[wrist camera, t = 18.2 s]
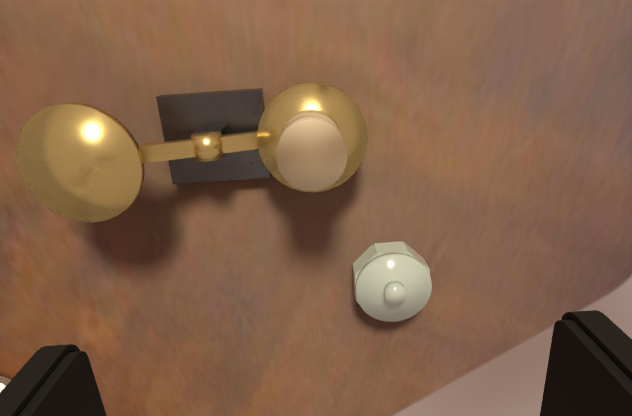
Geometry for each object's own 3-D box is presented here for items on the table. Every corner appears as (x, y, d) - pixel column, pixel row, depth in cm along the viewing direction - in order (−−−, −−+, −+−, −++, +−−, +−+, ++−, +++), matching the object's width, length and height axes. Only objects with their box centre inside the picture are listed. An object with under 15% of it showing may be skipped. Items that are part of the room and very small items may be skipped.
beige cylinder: (342, 167, 32) (348, 188, 27) (283, 171, 32) (279, 193, 27) (340, 107, 30) (345, 119, 26) (278, 111, 30) (272, 123, 26)
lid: (423, 302, 41) (433, 325, 38) (354, 307, 41) (358, 330, 38) (424, 239, 39) (436, 258, 35) (351, 245, 39) (355, 264, 35)
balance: (362, 173, 37) (374, 203, 30) (88, 191, 37) (36, 226, 30) (359, 75, 34) (372, 82, 27) (62, 95, 34) (-1, 108, 27)
